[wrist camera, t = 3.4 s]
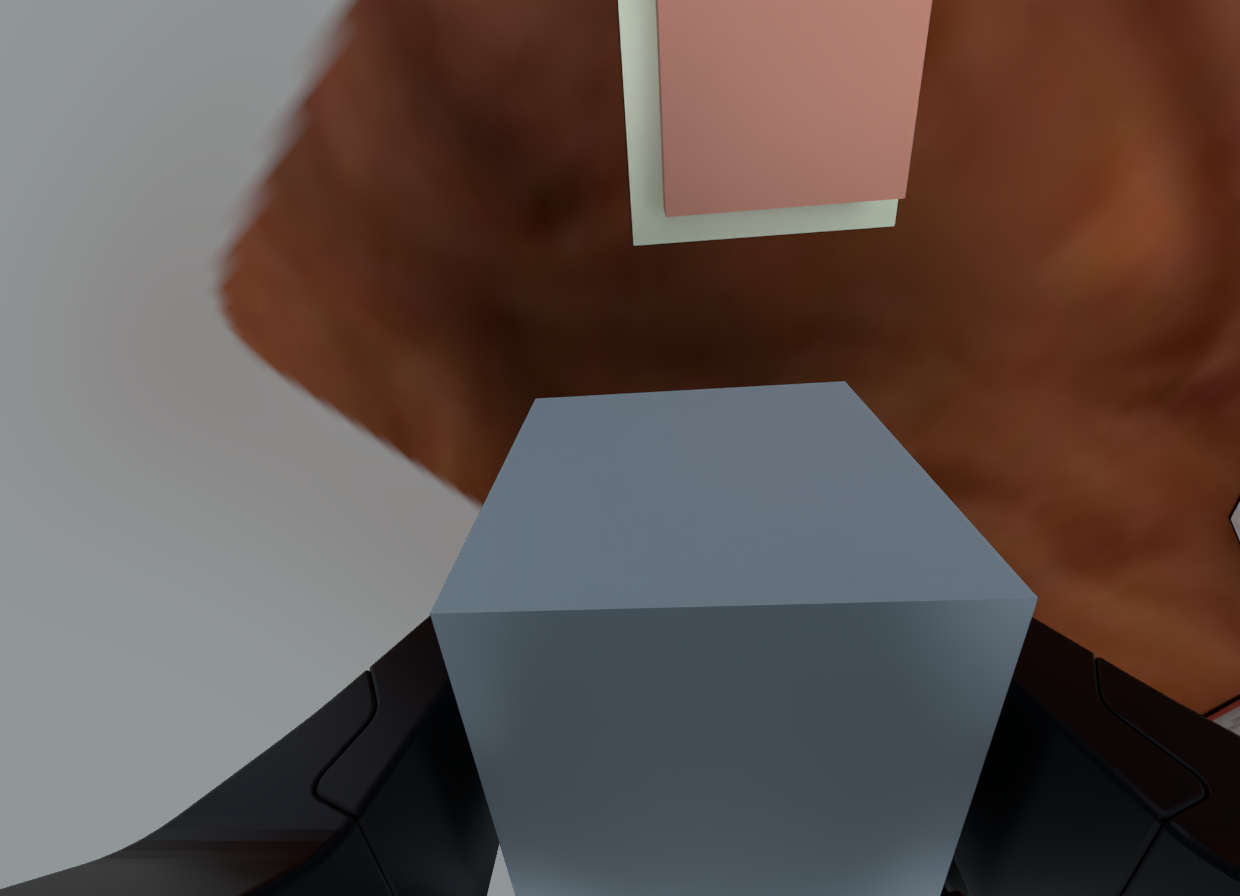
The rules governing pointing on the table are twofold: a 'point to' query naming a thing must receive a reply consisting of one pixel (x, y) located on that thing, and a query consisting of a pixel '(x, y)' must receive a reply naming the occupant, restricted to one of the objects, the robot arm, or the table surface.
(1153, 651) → the table surface
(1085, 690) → the robot arm
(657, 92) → the baseplate
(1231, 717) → the cracker box
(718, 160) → the brick red base
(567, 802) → the cube blue
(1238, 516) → the toilet paper
